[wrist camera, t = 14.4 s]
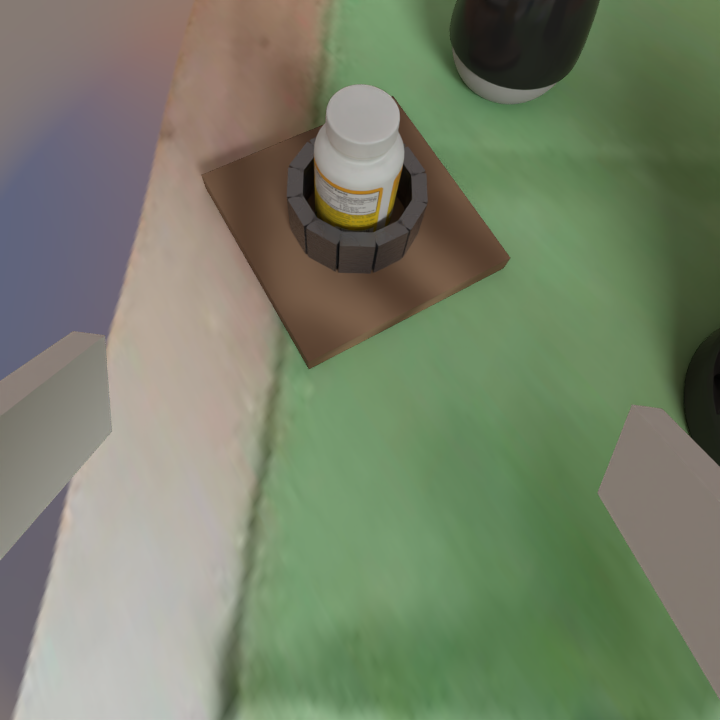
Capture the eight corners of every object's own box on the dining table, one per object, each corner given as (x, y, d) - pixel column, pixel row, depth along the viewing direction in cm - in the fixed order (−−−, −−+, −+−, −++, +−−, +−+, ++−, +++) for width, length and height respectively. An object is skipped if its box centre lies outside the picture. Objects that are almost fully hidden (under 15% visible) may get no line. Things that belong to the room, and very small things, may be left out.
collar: (377, 145, 39) (382, 109, 36) (442, 239, 37) (453, 210, 34) (268, 192, 37) (262, 159, 34) (330, 294, 35) (330, 269, 32)
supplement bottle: (348, 264, 36) (356, 172, 27) (299, 210, 37) (291, 105, 28) (406, 222, 37) (433, 121, 28) (357, 171, 38) (368, 59, 29)
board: (390, 110, 42) (393, 96, 41) (503, 268, 38) (510, 257, 37) (205, 188, 39) (201, 174, 38) (309, 369, 35) (308, 362, 34)
